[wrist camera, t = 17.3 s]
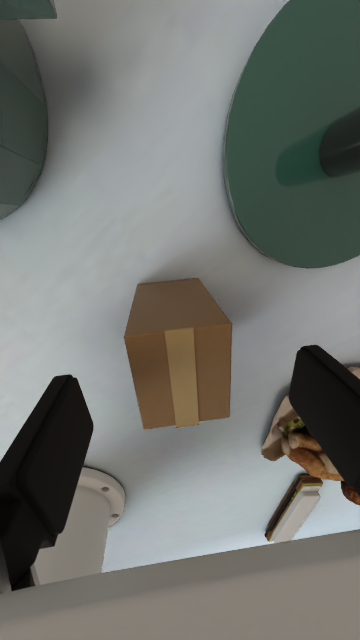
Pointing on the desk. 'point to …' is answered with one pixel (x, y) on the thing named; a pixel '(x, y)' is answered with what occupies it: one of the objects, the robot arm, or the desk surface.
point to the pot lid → (299, 136)
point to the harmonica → (294, 509)
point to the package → (179, 354)
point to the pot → (20, 104)
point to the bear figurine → (302, 446)
